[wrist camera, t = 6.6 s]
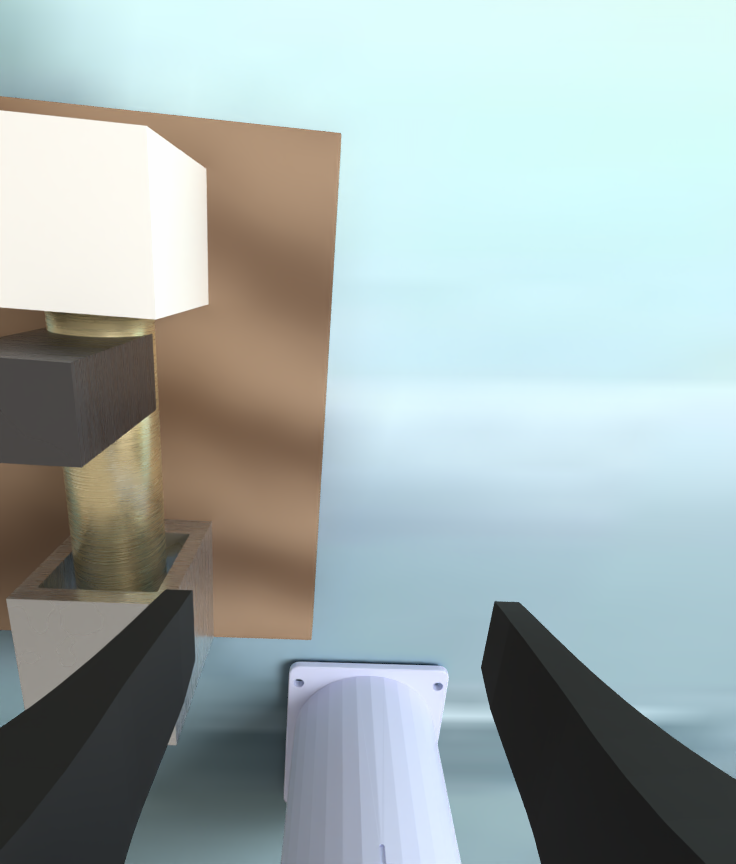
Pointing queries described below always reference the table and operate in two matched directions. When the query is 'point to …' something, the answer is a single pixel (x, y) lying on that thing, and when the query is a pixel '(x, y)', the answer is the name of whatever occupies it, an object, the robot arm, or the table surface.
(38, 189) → the white square block
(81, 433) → the block with brass knob
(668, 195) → the table surface
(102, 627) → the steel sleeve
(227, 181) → the walnut board
